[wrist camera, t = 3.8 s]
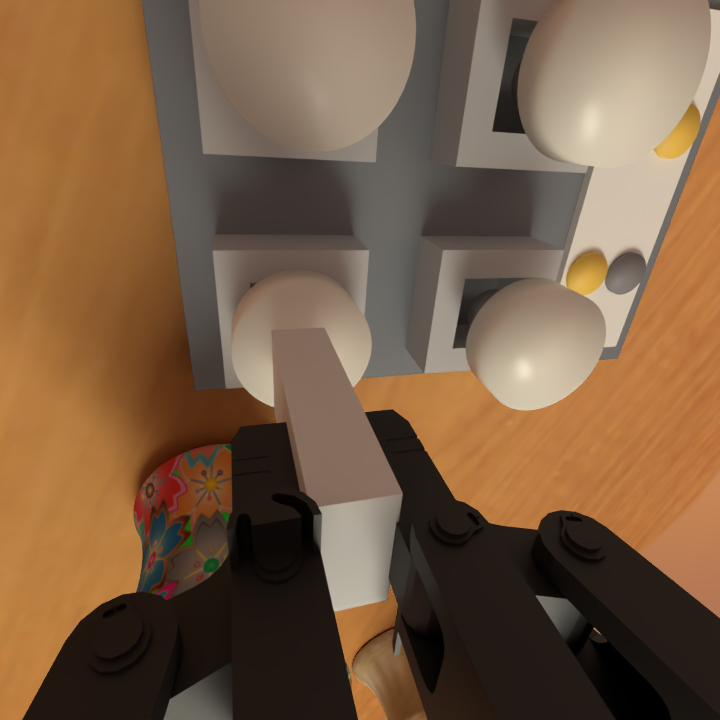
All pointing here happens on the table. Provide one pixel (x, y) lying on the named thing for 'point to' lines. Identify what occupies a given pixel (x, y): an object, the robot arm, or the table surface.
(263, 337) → the button
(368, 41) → the button
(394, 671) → the hand bell
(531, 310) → the button
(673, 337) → the table surface
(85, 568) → the table surface
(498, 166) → the board
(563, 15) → the button
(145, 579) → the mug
